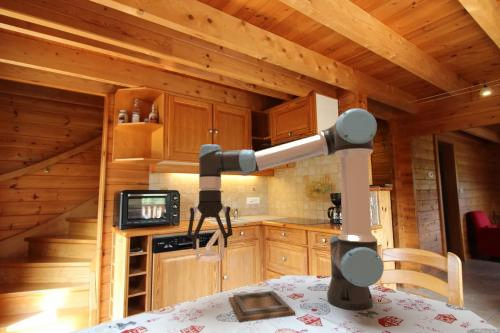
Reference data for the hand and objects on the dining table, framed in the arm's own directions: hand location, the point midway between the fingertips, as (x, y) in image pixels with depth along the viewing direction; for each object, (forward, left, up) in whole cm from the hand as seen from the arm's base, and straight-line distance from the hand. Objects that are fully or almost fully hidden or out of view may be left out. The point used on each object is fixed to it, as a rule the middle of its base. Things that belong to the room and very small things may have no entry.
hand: (210, 258), depth 90 cm
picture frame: (-17, +1, -17) cm, 24 cm away
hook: (0, 0, 0) cm, 0 cm away
